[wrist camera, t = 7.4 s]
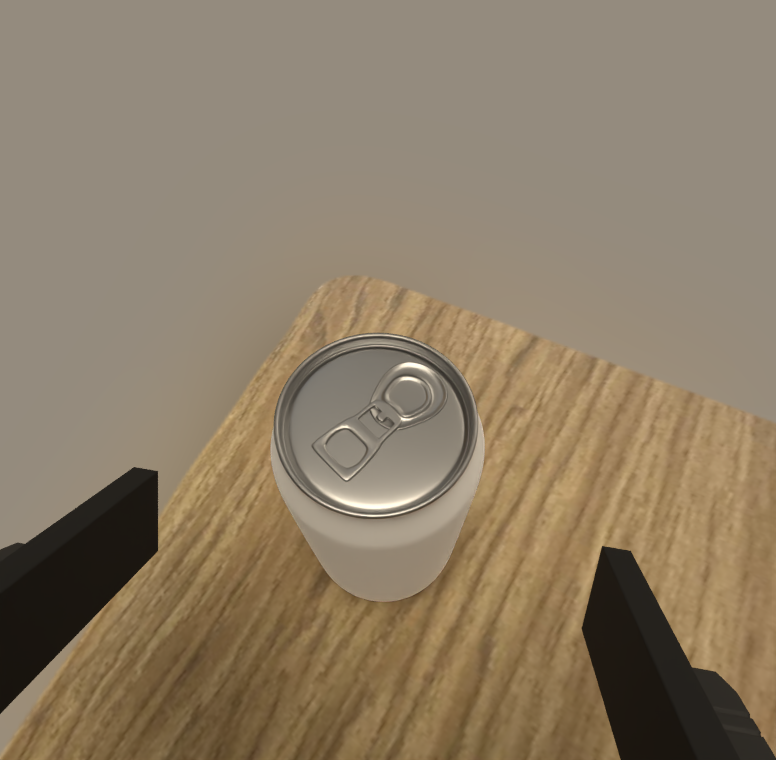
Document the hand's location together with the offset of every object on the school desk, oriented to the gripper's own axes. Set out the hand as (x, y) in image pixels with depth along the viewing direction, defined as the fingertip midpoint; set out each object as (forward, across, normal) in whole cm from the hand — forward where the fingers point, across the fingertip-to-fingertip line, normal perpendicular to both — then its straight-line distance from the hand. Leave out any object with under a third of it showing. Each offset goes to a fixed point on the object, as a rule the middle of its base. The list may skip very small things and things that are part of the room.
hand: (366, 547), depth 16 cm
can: (+9, 0, -5) cm, 10 cm away
